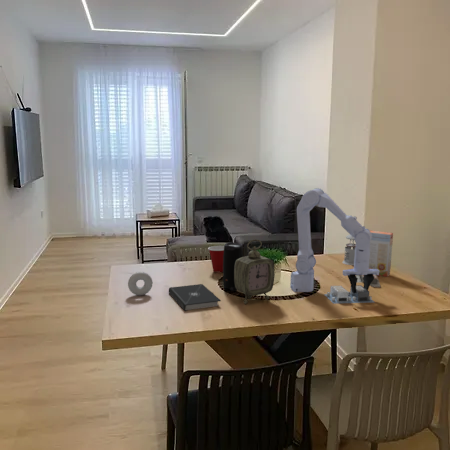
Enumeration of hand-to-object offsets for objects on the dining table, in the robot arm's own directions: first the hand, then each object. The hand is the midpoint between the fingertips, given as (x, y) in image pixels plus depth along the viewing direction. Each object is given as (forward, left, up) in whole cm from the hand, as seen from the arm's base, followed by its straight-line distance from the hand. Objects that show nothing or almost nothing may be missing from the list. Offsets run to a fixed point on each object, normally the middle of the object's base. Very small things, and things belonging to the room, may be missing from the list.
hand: (359, 292), depth 192 cm
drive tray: (-4, 0, -4) cm, 6 cm away
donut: (-88, +14, -4) cm, 89 cm away
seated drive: (-9, 0, -2) cm, 9 cm away
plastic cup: (-52, +47, -4) cm, 70 cm away
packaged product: (+15, +26, -4) cm, 30 cm away
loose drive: (0, 0, -2) cm, 2 cm away
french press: (+20, +58, -4) cm, 61 cm away
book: (-67, +7, -4) cm, 67 cm away
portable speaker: (-49, +20, -4) cm, 53 cm away
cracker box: (+23, +37, -4) cm, 43 cm away
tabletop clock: (-43, +5, -4) cm, 43 cm away
